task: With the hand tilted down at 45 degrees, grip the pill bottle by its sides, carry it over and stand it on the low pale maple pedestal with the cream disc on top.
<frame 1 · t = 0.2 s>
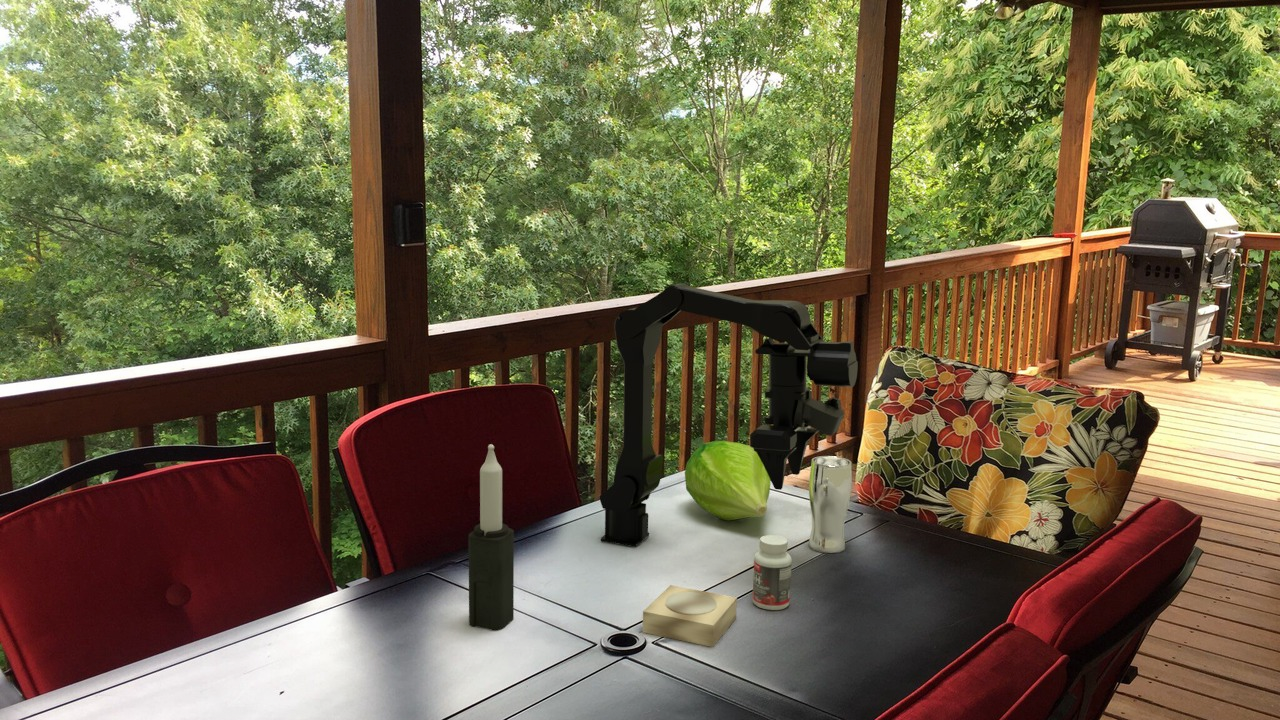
hand: (787, 481, 156), 14 cm above the table, fingers open, 9 cm apart
beer glass: (826, 548, 169), on the table
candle: (491, 622, 137), on the table
lettuce: (732, 519, 182), on the table
pill bottle: (770, 604, 145), on the table
pedestal: (690, 624, 137), on the table
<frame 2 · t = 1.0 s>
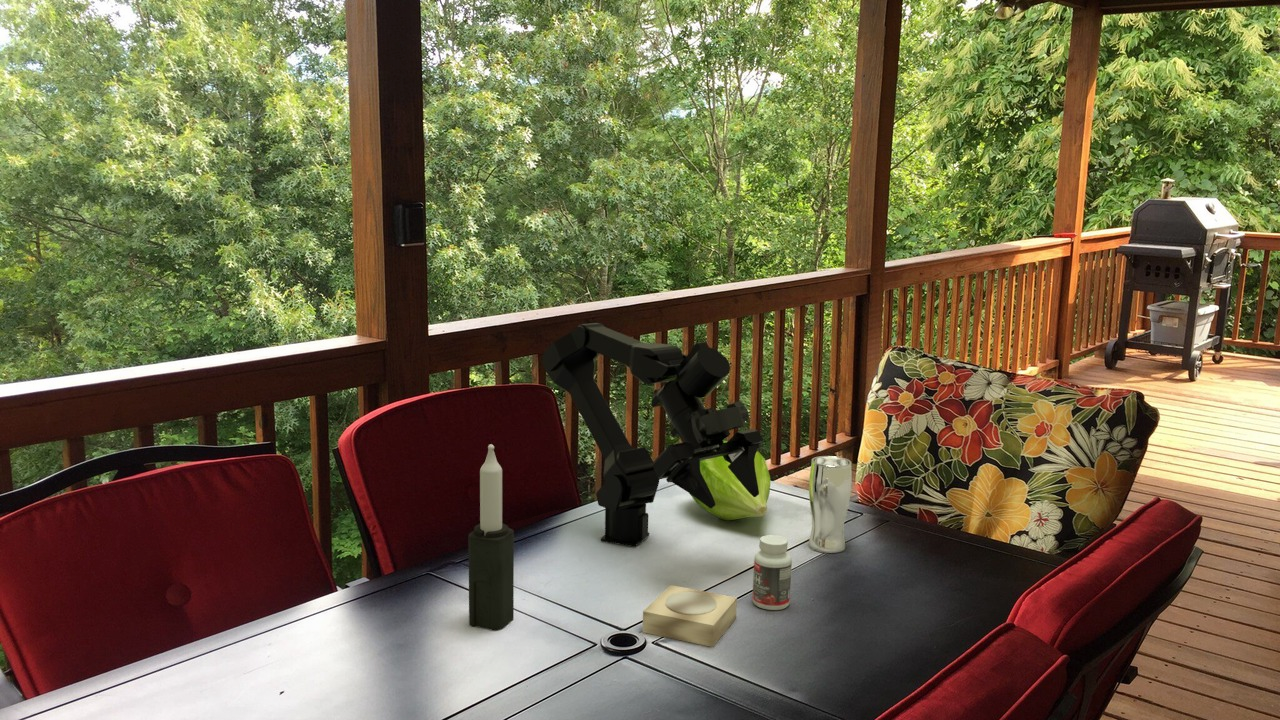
hand: (735, 501, 149), 13 cm above the table, fingers open, 9 cm apart
nothing on the table moved.
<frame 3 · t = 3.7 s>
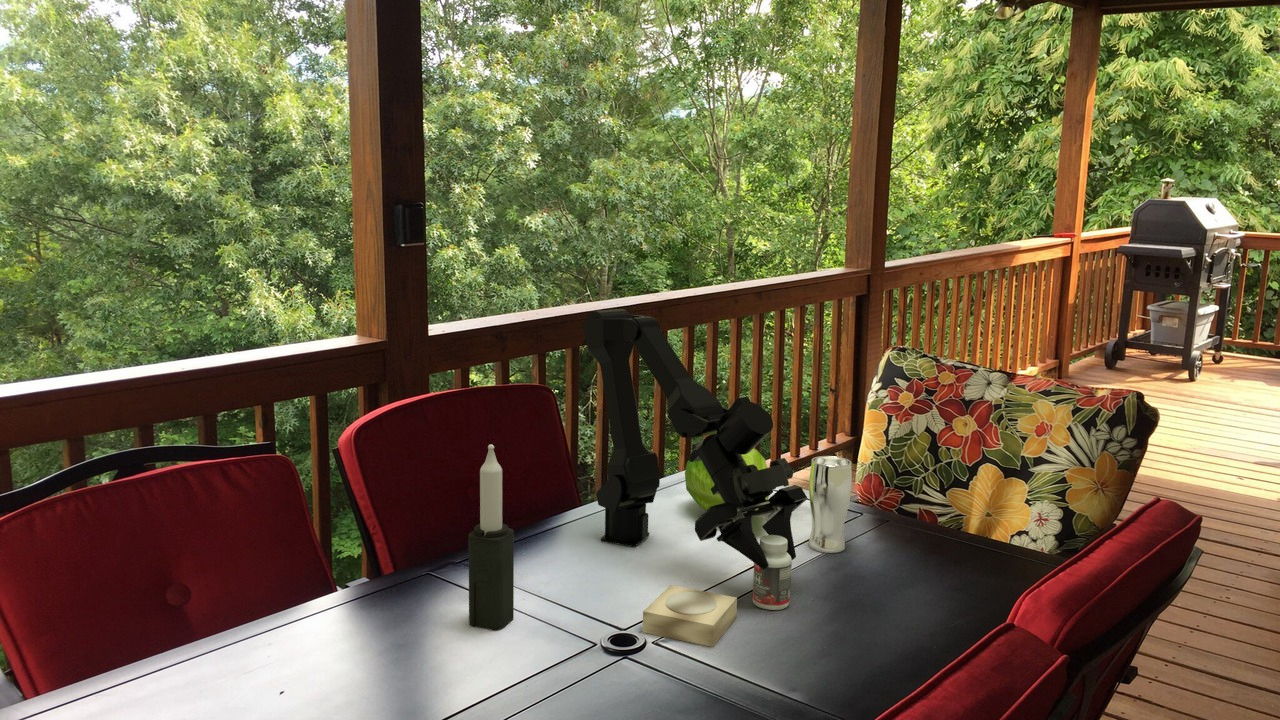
hand: (780, 563, 143), 7 cm above the table, fingers closed on pill bottle, 5 cm apart
pill bottle: (770, 604, 145), on the table, touching gripper
everything else where it was.
when the fingers open (11 cm above the table, at t = 7.6 s): pill bottle drops 1 cm, resting on pedestal.
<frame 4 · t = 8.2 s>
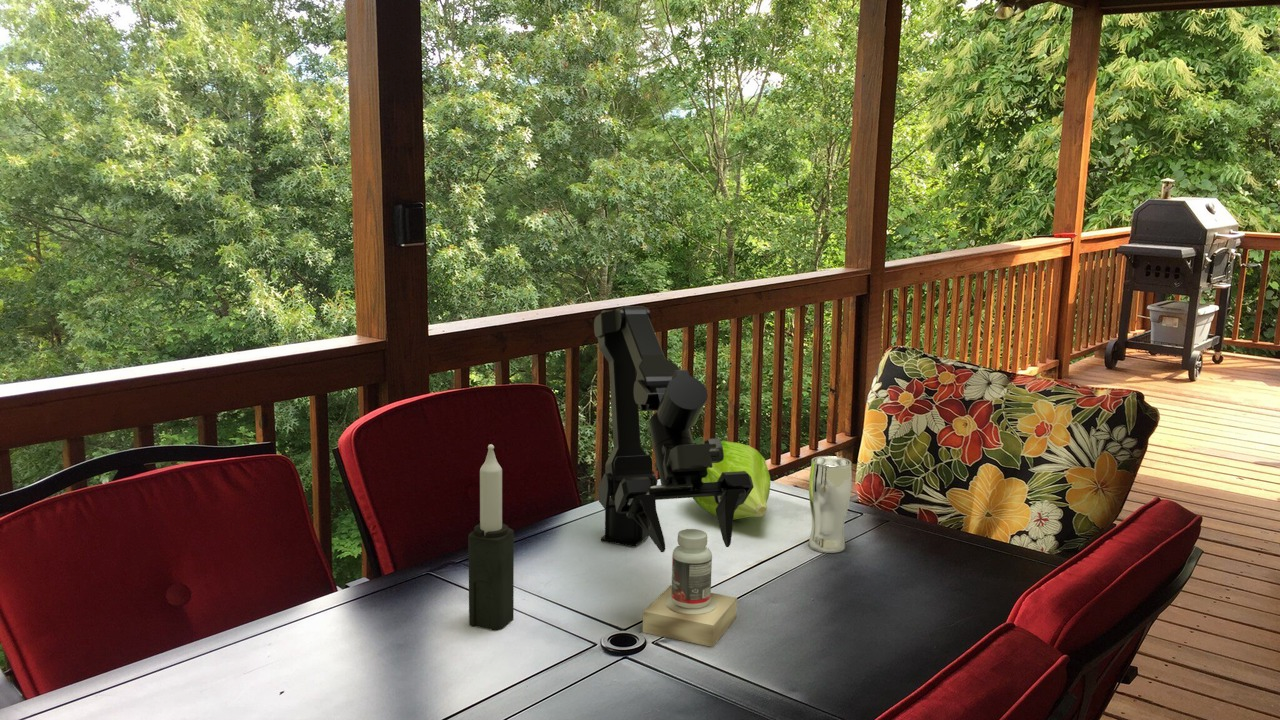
hand: (696, 548, 134), 12 cm above the table, fingers open, 9 cm apart
pill bottle: (690, 603, 137), point 3 cm above the table, touching pedestal
everything else where it was.
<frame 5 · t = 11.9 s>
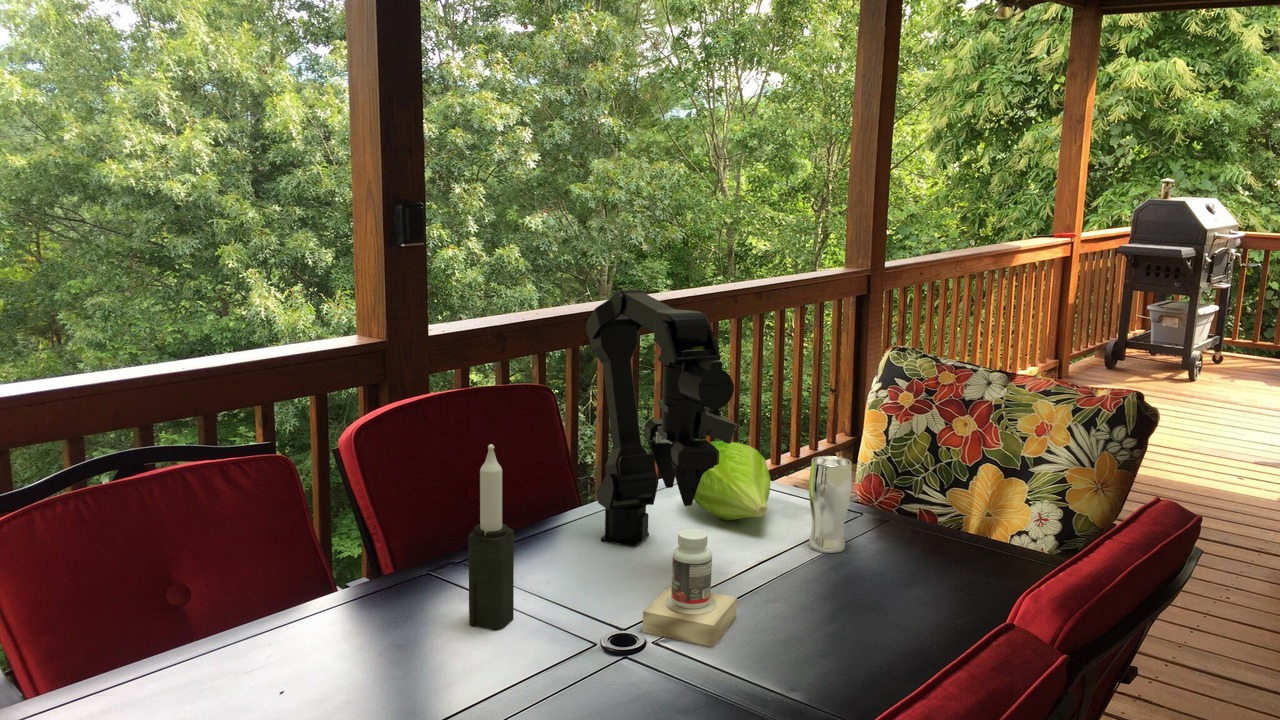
hand: (678, 496, 151), 13 cm above the table, fingers open, 9 cm apart
nothing on the table moved.
at the end: pill bottle inside the target area on the pedestal (0.1 cm from its centre), point 3.1 cm above the pedestal's base; pill bottle tilted 0°; the gripper is holding nothing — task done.
